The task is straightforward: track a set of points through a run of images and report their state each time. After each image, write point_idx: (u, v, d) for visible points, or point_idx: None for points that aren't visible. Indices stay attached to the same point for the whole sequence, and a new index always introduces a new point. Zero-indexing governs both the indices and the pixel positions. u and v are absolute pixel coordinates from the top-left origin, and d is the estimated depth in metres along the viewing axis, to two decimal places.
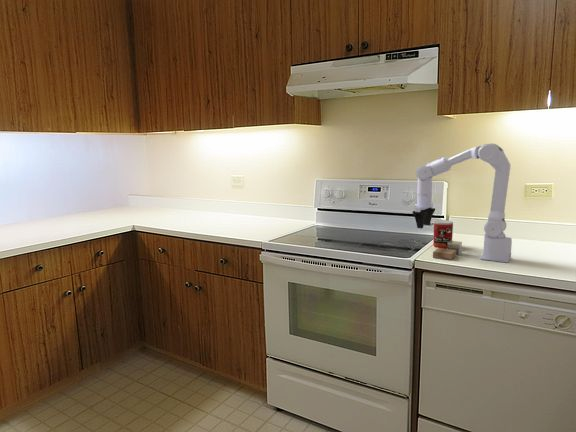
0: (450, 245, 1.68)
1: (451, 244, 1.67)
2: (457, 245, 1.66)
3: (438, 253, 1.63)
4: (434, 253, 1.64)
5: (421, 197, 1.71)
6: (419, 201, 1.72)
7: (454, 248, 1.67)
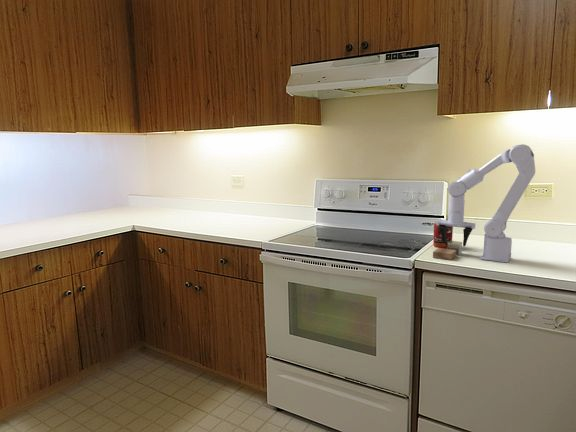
0: (450, 245, 1.68)
1: (451, 244, 1.67)
2: (457, 245, 1.66)
3: (438, 253, 1.63)
4: (434, 253, 1.64)
5: None
6: None
7: (454, 248, 1.67)
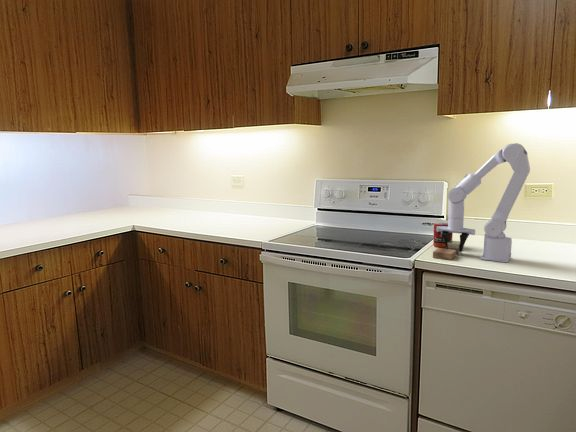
0: (450, 245, 1.68)
1: (451, 244, 1.67)
2: (457, 245, 1.66)
3: (438, 253, 1.63)
4: (434, 253, 1.64)
5: None
6: None
7: (454, 248, 1.67)
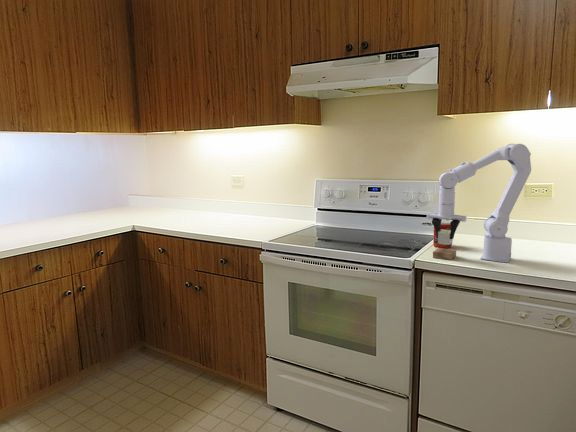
0: (440, 234, 1.63)
1: (442, 233, 1.62)
2: (448, 234, 1.61)
3: (438, 253, 1.63)
4: (434, 253, 1.64)
5: None
6: None
7: (445, 237, 1.62)
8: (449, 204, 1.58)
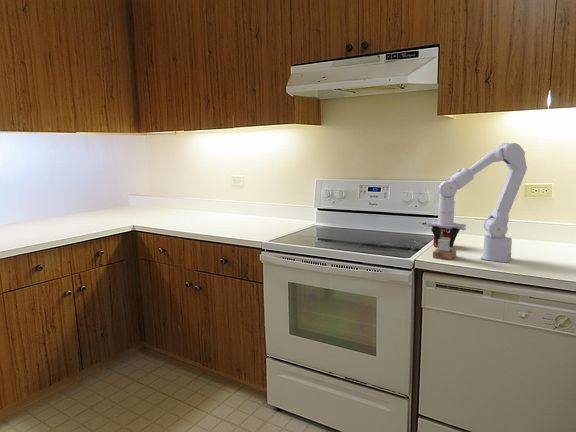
0: (440, 242, 1.63)
1: (441, 240, 1.63)
2: (447, 241, 1.61)
3: (438, 253, 1.63)
4: (434, 253, 1.64)
5: None
6: None
7: (444, 244, 1.62)
8: (449, 212, 1.59)
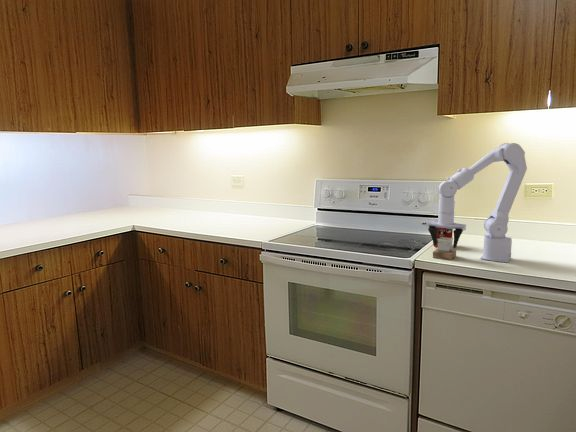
0: (440, 242, 1.63)
1: (441, 240, 1.63)
2: (447, 241, 1.61)
3: (438, 253, 1.63)
4: (434, 253, 1.64)
5: None
6: None
7: (444, 244, 1.62)
8: (449, 213, 1.59)
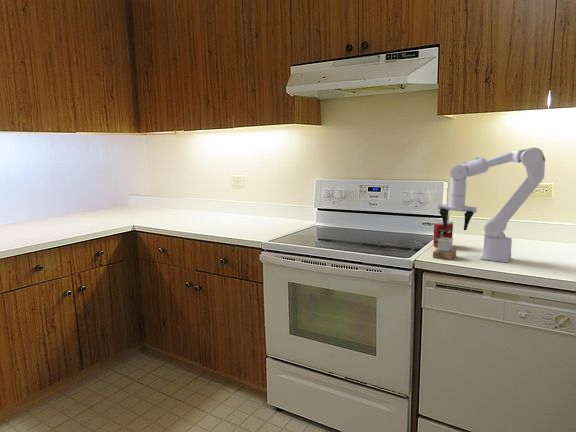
0: (440, 242, 1.63)
1: (441, 240, 1.63)
2: (447, 241, 1.61)
3: (438, 253, 1.63)
4: (434, 253, 1.64)
5: None
6: None
7: (444, 244, 1.62)
8: (460, 195, 1.62)
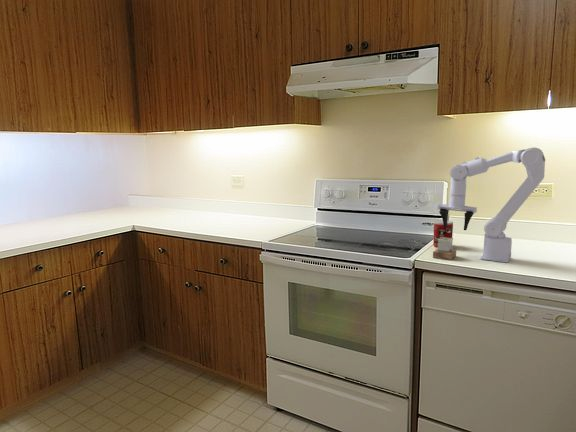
0: (440, 242, 1.63)
1: (441, 240, 1.63)
2: (447, 241, 1.61)
3: (438, 253, 1.63)
4: (434, 253, 1.64)
5: None
6: None
7: (444, 244, 1.62)
8: (460, 195, 1.62)
